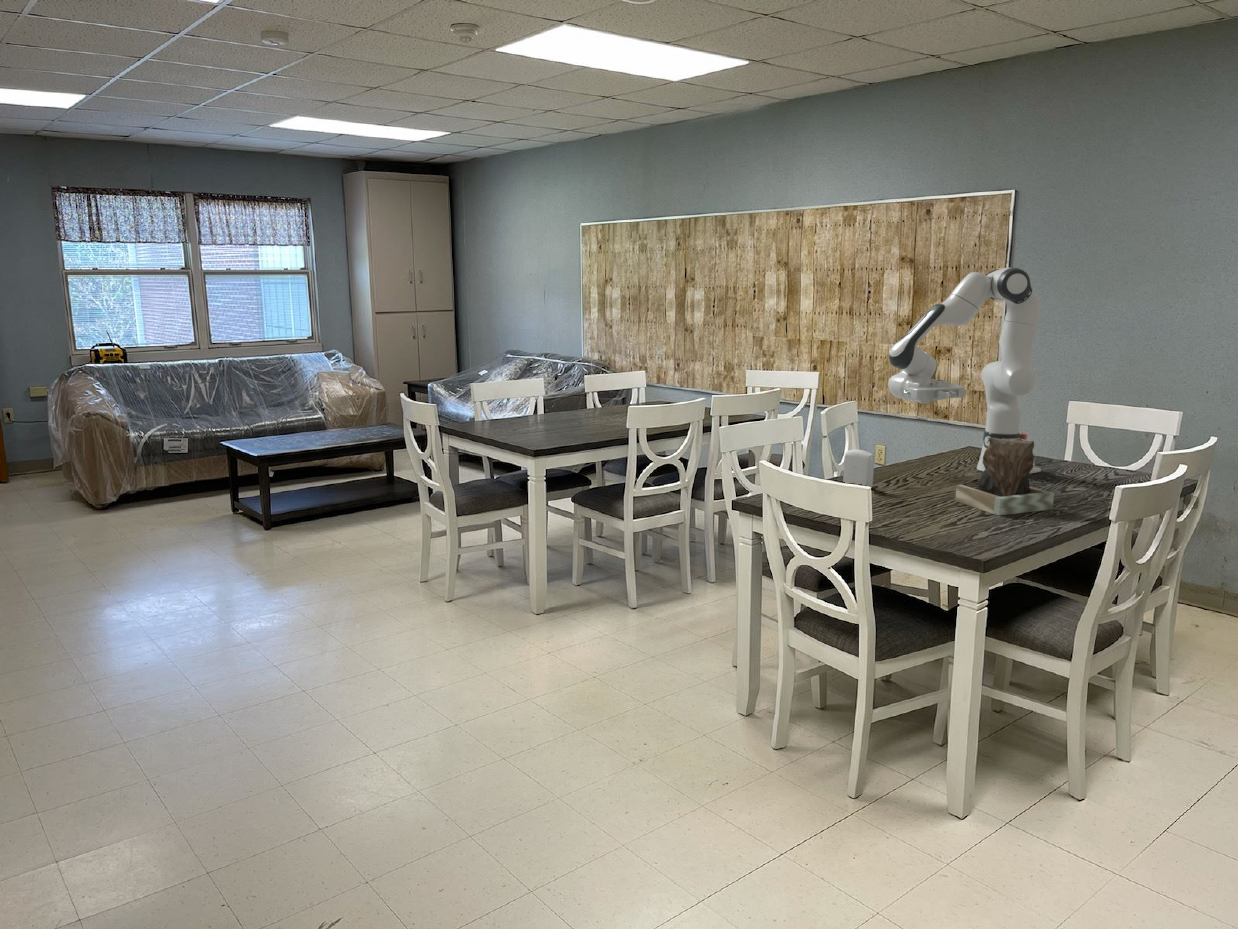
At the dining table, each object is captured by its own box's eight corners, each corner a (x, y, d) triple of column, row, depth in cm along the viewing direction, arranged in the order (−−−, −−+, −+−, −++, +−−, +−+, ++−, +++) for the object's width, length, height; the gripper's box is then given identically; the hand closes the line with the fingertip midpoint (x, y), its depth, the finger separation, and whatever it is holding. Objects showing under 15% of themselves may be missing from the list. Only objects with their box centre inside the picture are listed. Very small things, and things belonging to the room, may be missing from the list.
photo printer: (840, 484, 299) (843, 448, 296) (848, 483, 301) (851, 446, 299) (866, 490, 291) (869, 453, 288) (874, 488, 294) (877, 451, 291)
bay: (1006, 495, 287) (1008, 480, 286) (1052, 509, 270) (1054, 493, 269) (955, 500, 279) (956, 485, 278) (998, 515, 263) (1000, 498, 262)
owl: (973, 500, 280) (980, 437, 276) (1003, 496, 286) (1009, 434, 281) (1006, 509, 269) (1013, 444, 265) (1036, 505, 275) (1043, 441, 270)
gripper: (900, 382, 305) (928, 387, 293) (948, 380, 313) (977, 384, 300) (899, 400, 307) (926, 406, 294) (946, 398, 314) (975, 403, 302)
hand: (952, 395), depth 297 cm, fingers closed
